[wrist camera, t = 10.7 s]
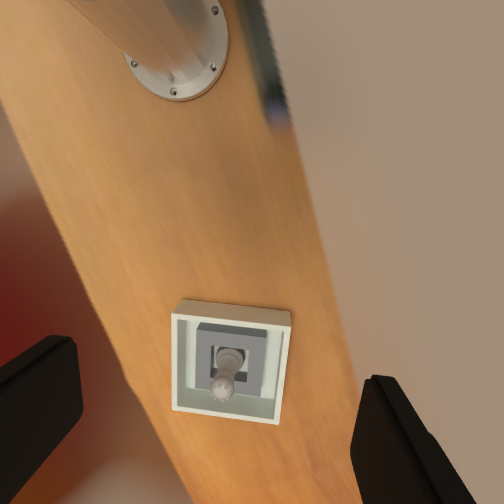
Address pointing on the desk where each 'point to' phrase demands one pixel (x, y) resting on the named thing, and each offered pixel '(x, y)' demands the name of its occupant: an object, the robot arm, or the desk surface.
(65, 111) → the desk surface
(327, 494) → the desk surface
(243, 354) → the rook chess piece
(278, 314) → the box
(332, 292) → the desk surface
